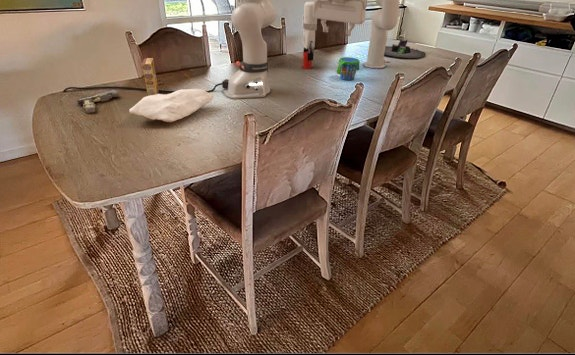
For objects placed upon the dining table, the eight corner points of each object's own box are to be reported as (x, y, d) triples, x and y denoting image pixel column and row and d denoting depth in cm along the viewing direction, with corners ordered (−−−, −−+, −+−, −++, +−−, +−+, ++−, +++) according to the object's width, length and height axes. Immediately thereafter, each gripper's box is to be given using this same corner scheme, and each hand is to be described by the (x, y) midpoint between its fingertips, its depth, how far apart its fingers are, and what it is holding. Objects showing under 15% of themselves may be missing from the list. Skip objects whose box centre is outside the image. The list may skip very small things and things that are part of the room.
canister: (311, 69, 211) (313, 54, 207) (303, 68, 211) (304, 53, 206) (311, 66, 216) (312, 51, 211) (302, 66, 215) (303, 51, 211)
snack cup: (351, 73, 205) (353, 55, 200) (364, 79, 198) (367, 60, 193) (329, 77, 198) (331, 58, 192) (342, 83, 191) (344, 63, 185)
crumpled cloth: (117, 110, 146) (113, 90, 140) (195, 92, 166) (194, 73, 160) (143, 139, 134) (140, 118, 128) (223, 116, 154) (224, 96, 148)
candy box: (157, 97, 164) (152, 63, 155) (147, 98, 163) (141, 63, 155) (158, 91, 171) (153, 57, 163) (149, 91, 170) (143, 58, 162)
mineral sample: (436, 54, 249) (439, 40, 244) (402, 60, 231) (404, 45, 227) (396, 47, 273) (398, 34, 269) (363, 52, 256) (364, 38, 252)
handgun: (128, 97, 156) (111, 87, 164) (86, 107, 144) (70, 97, 152) (129, 103, 157) (113, 94, 165) (88, 114, 146) (72, 103, 154)
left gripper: (371, -5, 128) (365, 36, 136) (320, -10, 137) (317, 29, 145) (364, -4, 124) (358, 39, 131) (312, -9, 133) (309, 31, 140)
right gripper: (299, 23, 207) (298, 54, 217) (307, 29, 193) (305, 62, 203) (312, 23, 209) (310, 54, 218) (320, 29, 195) (318, 61, 204)
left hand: (336, 33), depth 138 cm, fingers open, 8 cm apart
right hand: (308, 58), depth 210 cm, fingers open, 9 cm apart
